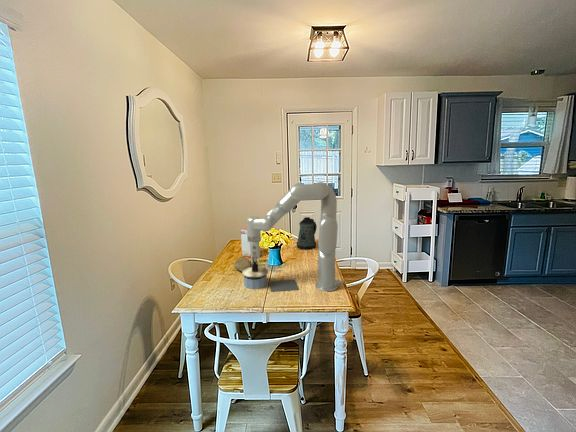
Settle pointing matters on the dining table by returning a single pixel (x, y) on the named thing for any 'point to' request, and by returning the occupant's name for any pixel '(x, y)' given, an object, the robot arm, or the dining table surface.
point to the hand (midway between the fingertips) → (255, 269)
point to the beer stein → (307, 234)
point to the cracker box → (245, 244)
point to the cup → (255, 282)
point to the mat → (283, 285)
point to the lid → (255, 272)
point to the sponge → (242, 263)
